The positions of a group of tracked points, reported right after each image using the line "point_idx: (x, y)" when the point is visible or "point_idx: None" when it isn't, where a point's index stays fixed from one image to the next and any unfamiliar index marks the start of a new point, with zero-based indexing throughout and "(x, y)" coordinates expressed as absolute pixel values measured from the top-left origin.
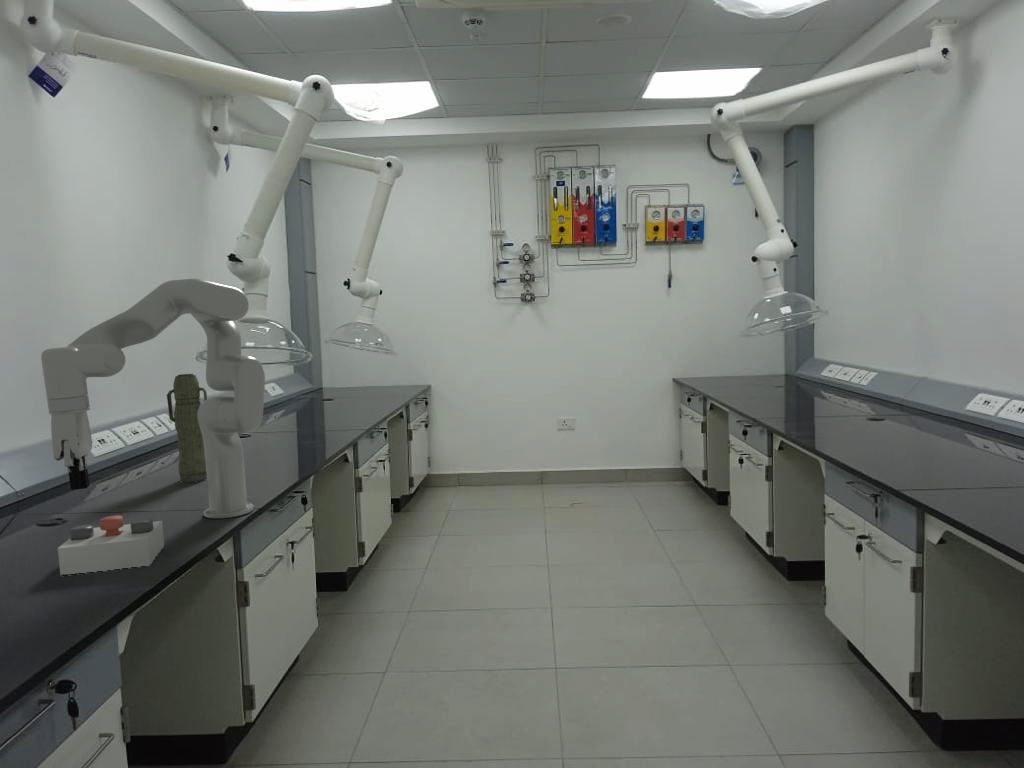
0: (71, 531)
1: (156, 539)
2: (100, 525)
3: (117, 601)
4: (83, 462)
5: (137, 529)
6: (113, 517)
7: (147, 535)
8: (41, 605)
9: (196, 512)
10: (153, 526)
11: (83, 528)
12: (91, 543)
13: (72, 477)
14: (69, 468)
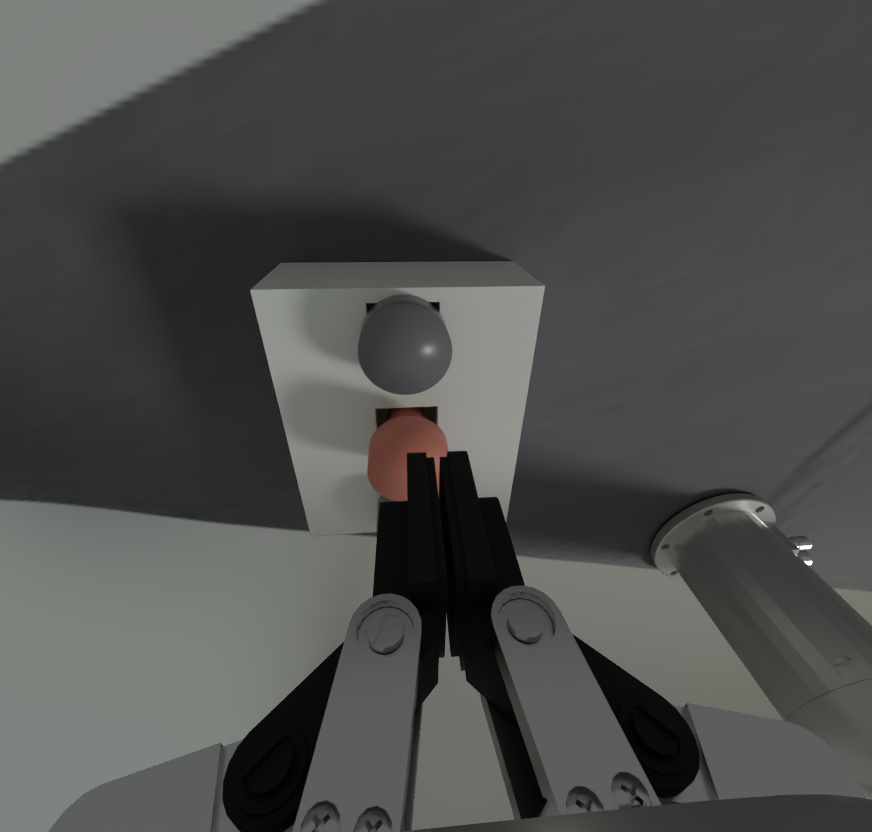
0: (367, 323)
1: None
2: (386, 431)
3: (67, 480)
4: (497, 741)
5: (377, 512)
6: None
7: (348, 529)
8: (2, 302)
9: (780, 468)
10: None
11: (391, 366)
12: (296, 401)
13: (375, 561)
14: (300, 685)
